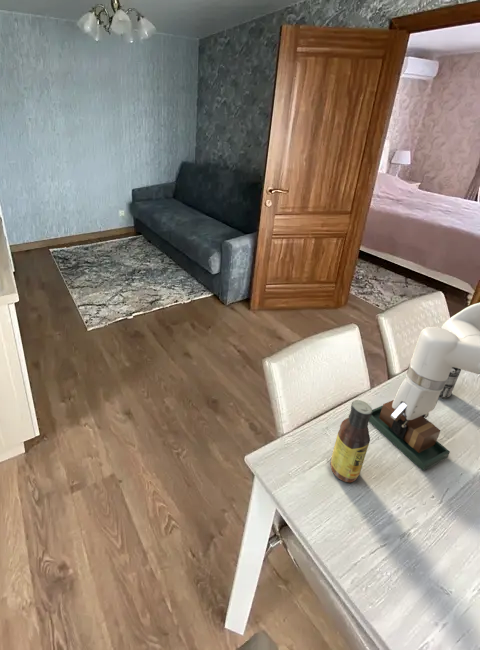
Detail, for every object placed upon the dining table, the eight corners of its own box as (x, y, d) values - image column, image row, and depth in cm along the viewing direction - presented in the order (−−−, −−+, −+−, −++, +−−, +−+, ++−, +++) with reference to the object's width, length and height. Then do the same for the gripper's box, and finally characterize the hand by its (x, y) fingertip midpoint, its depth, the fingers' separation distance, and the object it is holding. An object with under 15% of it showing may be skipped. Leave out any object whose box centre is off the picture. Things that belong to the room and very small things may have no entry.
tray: (447, 457, 85) (450, 451, 84) (422, 470, 82) (425, 465, 81) (388, 407, 99) (390, 402, 98) (364, 417, 95) (366, 412, 95)
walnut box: (378, 418, 93) (383, 403, 91) (394, 411, 95) (399, 397, 93) (418, 453, 84) (424, 438, 82) (434, 445, 86) (441, 430, 84)
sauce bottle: (353, 490, 77) (373, 426, 70) (325, 471, 81) (341, 409, 74) (362, 469, 82) (382, 407, 74) (335, 452, 86) (351, 391, 78)
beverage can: (424, 379, 109) (435, 349, 104) (449, 389, 105) (462, 357, 101) (423, 392, 104) (435, 361, 99) (450, 403, 100) (463, 370, 96)
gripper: (433, 356, 89) (414, 408, 96) (386, 374, 83) (369, 428, 89) (465, 376, 82) (442, 430, 89) (417, 397, 76) (396, 454, 83)
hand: (406, 429), depth 89 cm, fingers closed on walnut box, 6 cm apart
